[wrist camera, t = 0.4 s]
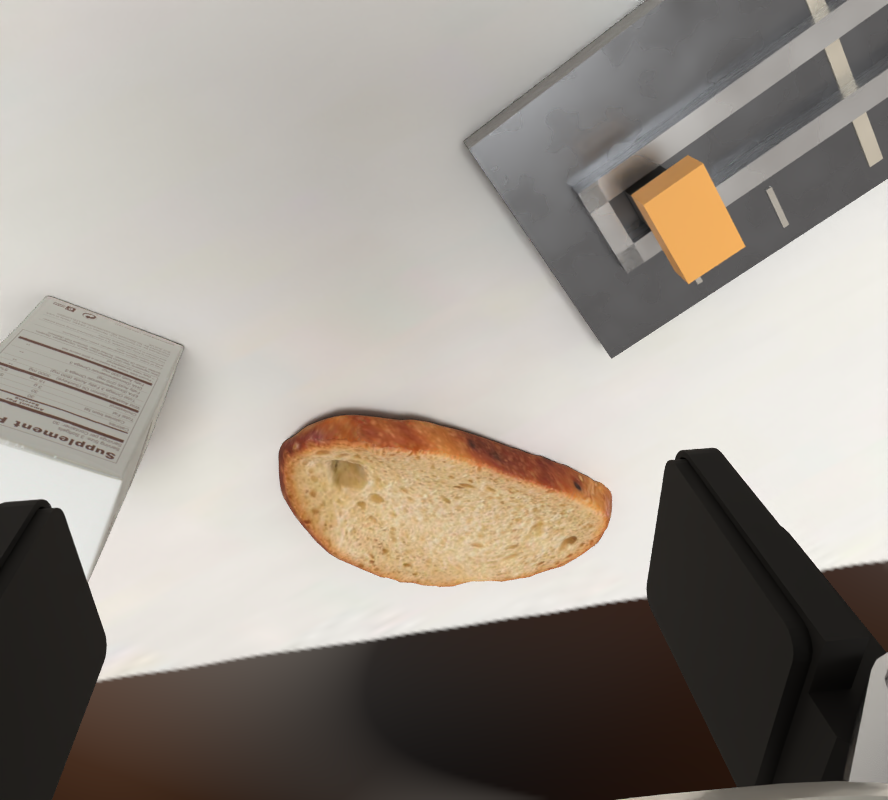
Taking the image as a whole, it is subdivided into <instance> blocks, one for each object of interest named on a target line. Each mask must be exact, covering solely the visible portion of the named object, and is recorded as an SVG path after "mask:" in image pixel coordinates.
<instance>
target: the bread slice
mask: <svg viewBox="0 0 888 800" xmlns="http://www.w3.org/2000/svg"><path fill="white" fill-rule="evenodd" d="M279 478H280V486H281V491H282V494H283V497H284V499H285V500H286V502H287V504H288V506H289V507H290V509H291V510H292V512H293V514H294V515H295V516H296V518H297V519H298V521H299V522H300V523H301V524H302V525H303V527H304V528H305V529H306V530H307V531H308V532H309V534H310V535H311V536H312V537H313V538H314V540H315V541H316V542H317V543H318V544H319V545H321V546H322V547H323V548H324V549H325V550H326V551H327V552H328V553H329V554H331V555H333V556H334V557H336V558H338V559H340V560H342V561H345V562H347V563H349V564H351V565H354V566H356V567H358V568H360V569H363V570H365V571H368V572H370V573H373V574H375V575H377V576H380V577H384V578H385V577H387V578H391V579H394V580H397V581H399V582H407V583H416V584H420V585H427V586H439V587H449V586H455V585H459V584H462V583H466V582H471V581H501V582H502V581H507V580H514V579H519V578H526V577H530V576H533V575H535V574H538V573H541V572H544V571H547V570H550V569H554V568H557V567H561V566H563V565H565V564H567V563H568V562H570V561H572V560H574V559H576V558H577V557H579V556H580V555H582V554H583V553H585V552H586V551H587V550H589V549H590V548H591V547H593V546H594V545H595V544H597V543H598V542H599V540H600V539H601V537H602V535H603V533H604V531H605V530H606V529H607V527H608V523H609V521H610V517H611V510H612V495H611V492H610V491H609V489H608V488H606V487H605V486H604V485H603V484H602V483H600V482H596V481H593V480H592V479H590V478H589V477H587V476H586V475H584V474H581V473H579V472H577V471H575V470H573V469H572V468H570V467H568V466H567V465H563V464H559V463H556V462H553V461H551V460H549V459H547V458H545V457H542V456H537V455H532V454H529V453H526V452H524V451H521V450H519V449H516V448H511V447H508V446H505V445H503V444H500V443H498V442H495V441H492V440H489V439H486V438H483V437H480V436H477V435H474V434H470V433H467V432H464V431H461V430H457V429H452V428H448V427H444V426H440V425H437V424H434V423H431V422H426V421H419V420H413V419H409V420H396V419H389V418H381V417H372V416H363V415H340V416H335V417H331V418H327V419H324V420H321V421H318V422H315V423H313V424H311V425H308V426H306V427H305V428H303V429H302V430H301V431H300V432H299V433H297V434H296V435H295V436H293V437H291V438H290V439H287V440H286V441H285V442H284V443H283V444H282V446H281V448H280V450H279Z"/></svg>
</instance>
